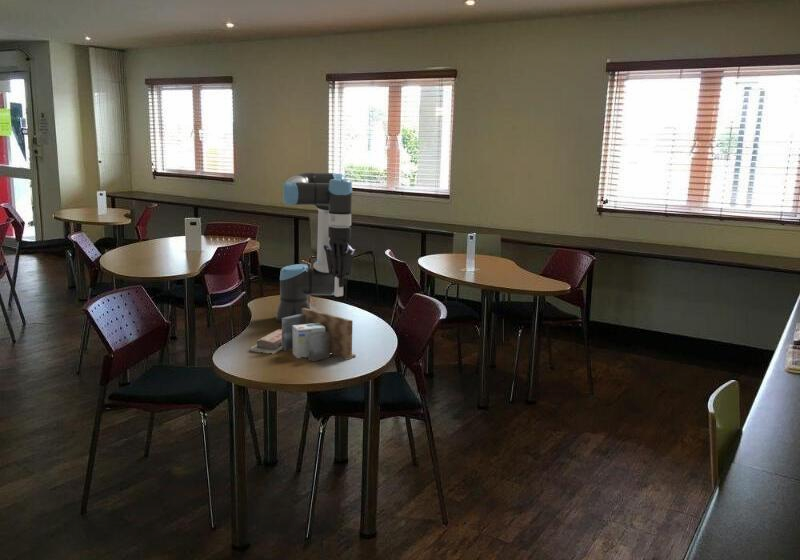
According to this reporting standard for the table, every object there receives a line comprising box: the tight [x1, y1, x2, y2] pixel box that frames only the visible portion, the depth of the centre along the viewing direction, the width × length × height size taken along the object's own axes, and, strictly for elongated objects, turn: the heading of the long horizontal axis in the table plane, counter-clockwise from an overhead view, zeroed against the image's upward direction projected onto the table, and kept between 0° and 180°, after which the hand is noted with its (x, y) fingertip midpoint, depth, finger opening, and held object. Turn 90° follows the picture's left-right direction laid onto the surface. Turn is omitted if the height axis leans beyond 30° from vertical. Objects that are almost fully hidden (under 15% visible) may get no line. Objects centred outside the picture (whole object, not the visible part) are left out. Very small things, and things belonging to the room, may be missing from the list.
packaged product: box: [250, 328, 282, 355], centre depth 245 cm, size 18×5×10 cm
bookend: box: [308, 331, 331, 362], centre depth 232 cm, size 2×8×9 cm, turn 141°
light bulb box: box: [292, 323, 325, 359], centre depth 236 cm, size 11×7×11 cm, turn 116°
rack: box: [281, 308, 357, 360], centre depth 237 cm, size 25×13×14 cm, turn 50°
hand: (338, 295), depth 222 cm, fingers closed
